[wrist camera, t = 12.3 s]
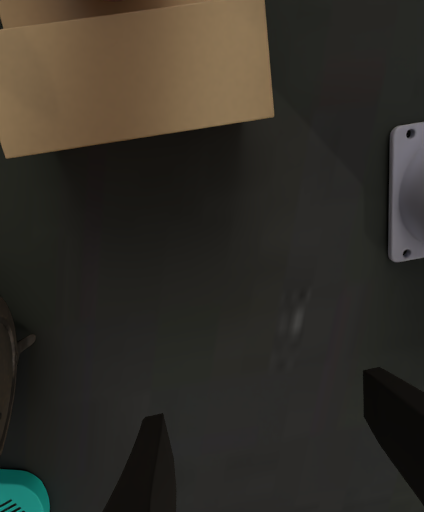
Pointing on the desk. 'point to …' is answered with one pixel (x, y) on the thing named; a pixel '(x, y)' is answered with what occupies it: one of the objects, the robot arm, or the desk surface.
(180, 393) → the desk surface
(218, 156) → the desk surface
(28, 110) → the step shelf
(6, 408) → the alarm clock
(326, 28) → the desk surface
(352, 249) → the desk surface
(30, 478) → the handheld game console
